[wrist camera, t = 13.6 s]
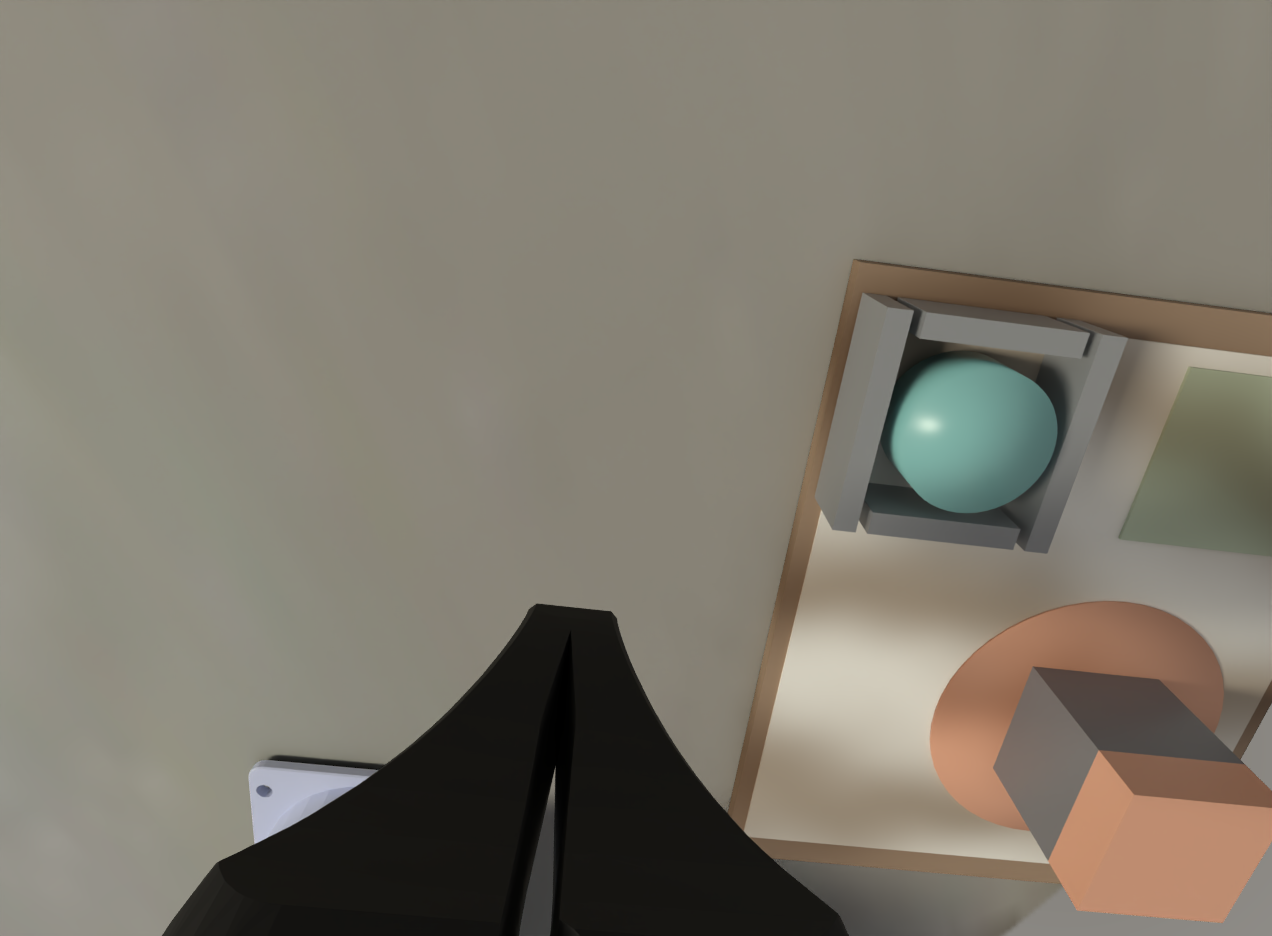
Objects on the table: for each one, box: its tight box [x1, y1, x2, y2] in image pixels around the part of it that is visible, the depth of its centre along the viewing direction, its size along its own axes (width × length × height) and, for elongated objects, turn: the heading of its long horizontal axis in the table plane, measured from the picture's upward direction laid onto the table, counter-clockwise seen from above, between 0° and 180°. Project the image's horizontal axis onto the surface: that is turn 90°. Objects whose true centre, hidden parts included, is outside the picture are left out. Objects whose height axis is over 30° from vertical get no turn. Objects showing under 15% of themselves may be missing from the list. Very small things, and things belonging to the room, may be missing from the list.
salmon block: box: [993, 666, 1272, 923], centre depth 21 cm, size 4×4×5 cm
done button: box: [880, 351, 1057, 513], centre depth 19 cm, size 4×4×2 cm
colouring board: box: [728, 259, 1272, 884], centre depth 23 cm, size 20×16×1 cm
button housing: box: [815, 293, 1128, 554], centre depth 19 cm, size 6×6×2 cm
